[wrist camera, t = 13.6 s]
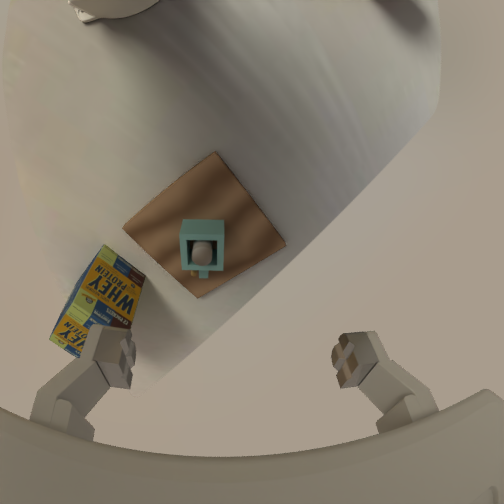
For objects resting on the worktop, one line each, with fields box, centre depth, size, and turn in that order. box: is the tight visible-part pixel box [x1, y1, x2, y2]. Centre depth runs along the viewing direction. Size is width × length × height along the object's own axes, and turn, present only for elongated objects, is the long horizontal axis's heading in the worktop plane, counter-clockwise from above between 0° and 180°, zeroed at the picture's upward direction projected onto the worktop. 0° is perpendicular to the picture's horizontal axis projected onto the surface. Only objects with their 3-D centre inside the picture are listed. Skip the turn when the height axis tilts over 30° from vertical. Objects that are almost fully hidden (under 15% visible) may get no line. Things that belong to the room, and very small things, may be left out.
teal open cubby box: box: [179, 219, 224, 278], centre depth 44 cm, size 10×7×5 cm, turn 175°
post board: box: [122, 151, 286, 298], centre depth 43 cm, size 20×20×7 cm
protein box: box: [49, 245, 145, 358], centre depth 43 cm, size 10×15×16 cm
